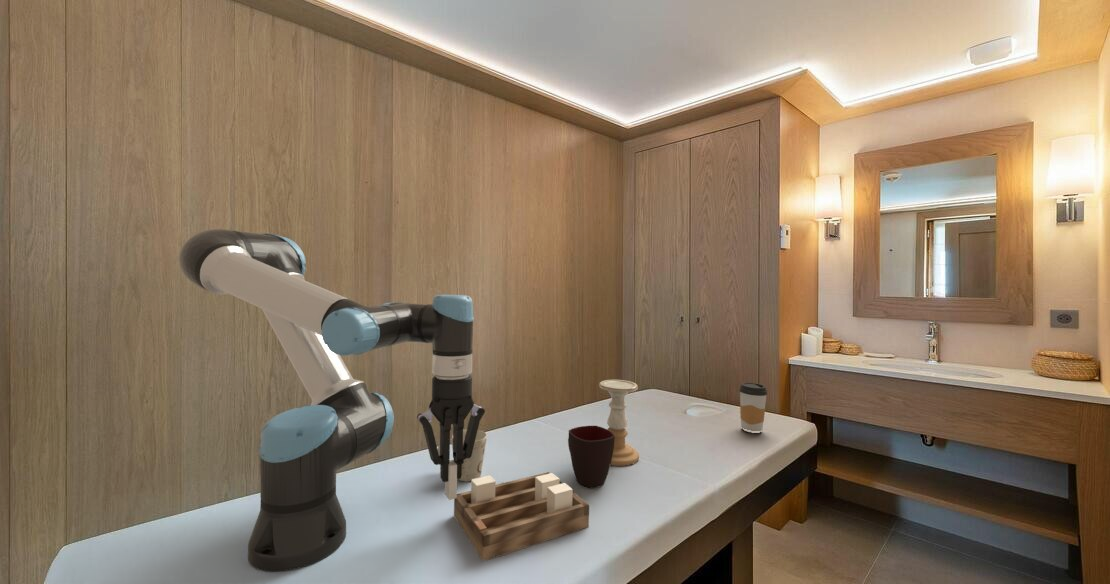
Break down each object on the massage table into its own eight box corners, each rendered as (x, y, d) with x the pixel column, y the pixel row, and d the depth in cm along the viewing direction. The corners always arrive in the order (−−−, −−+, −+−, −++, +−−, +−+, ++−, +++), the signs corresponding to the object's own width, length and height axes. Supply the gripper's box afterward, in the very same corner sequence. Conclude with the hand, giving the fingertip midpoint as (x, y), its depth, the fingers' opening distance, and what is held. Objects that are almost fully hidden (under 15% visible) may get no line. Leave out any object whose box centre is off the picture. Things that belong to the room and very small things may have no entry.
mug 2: (583, 496, 98) (584, 443, 98) (554, 471, 110) (555, 424, 110) (619, 487, 103) (620, 436, 102) (587, 464, 115) (588, 418, 115)
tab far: (476, 510, 86) (476, 485, 86) (470, 503, 89) (471, 479, 89) (495, 505, 89) (495, 481, 88) (489, 498, 91) (489, 475, 91)
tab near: (554, 519, 84) (555, 494, 84) (546, 512, 87) (547, 487, 86) (571, 514, 86) (572, 489, 86) (563, 507, 89) (564, 482, 88)
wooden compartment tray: (483, 561, 75) (483, 534, 75) (453, 515, 89) (454, 493, 89) (588, 526, 86) (589, 503, 86) (548, 491, 100) (548, 470, 100)
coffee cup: (767, 429, 145) (769, 384, 145) (763, 437, 138) (765, 390, 138) (740, 424, 150) (741, 381, 149) (735, 431, 143) (737, 385, 142)
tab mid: (541, 507, 88) (542, 483, 88) (534, 500, 91) (535, 476, 91) (558, 502, 90) (559, 478, 90) (551, 496, 93) (552, 472, 93)
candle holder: (590, 463, 116) (592, 387, 115) (597, 445, 128) (599, 377, 127) (637, 469, 113) (640, 391, 112) (640, 450, 125) (642, 380, 124)
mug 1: (478, 485, 102) (479, 443, 101) (428, 479, 104) (428, 438, 104) (490, 470, 110) (491, 431, 110) (443, 464, 112) (444, 426, 112)
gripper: (422, 383, 78) (421, 513, 79) (491, 376, 84) (489, 496, 85) (413, 374, 84) (411, 495, 85) (477, 368, 91) (475, 480, 92)
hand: (450, 495), depth 85 cm, fingers closed
